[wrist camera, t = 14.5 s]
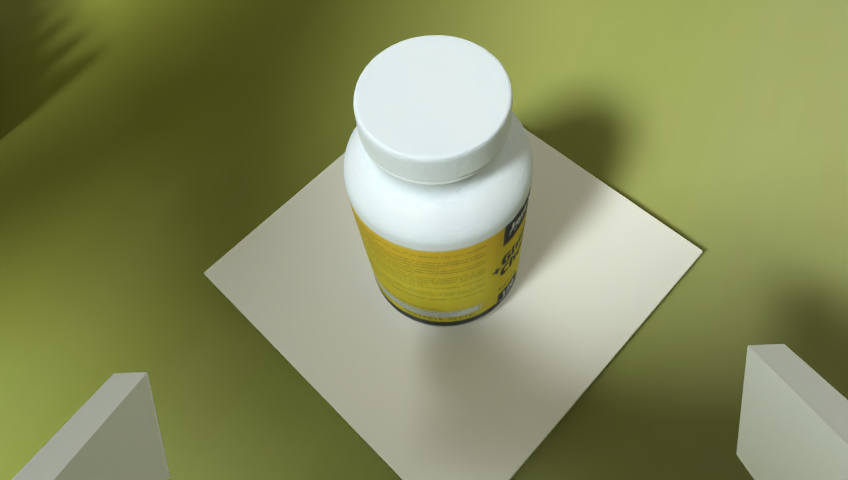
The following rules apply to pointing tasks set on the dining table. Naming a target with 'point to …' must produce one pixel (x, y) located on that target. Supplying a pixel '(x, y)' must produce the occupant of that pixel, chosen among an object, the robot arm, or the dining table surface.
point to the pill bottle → (439, 178)
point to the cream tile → (462, 345)
